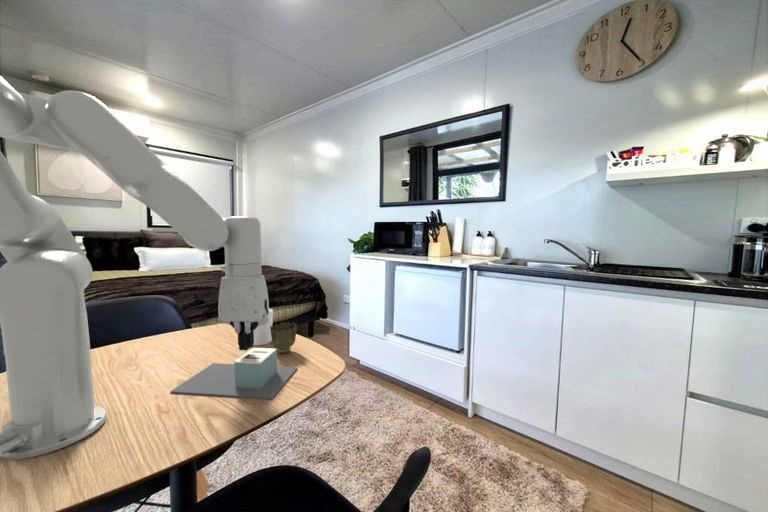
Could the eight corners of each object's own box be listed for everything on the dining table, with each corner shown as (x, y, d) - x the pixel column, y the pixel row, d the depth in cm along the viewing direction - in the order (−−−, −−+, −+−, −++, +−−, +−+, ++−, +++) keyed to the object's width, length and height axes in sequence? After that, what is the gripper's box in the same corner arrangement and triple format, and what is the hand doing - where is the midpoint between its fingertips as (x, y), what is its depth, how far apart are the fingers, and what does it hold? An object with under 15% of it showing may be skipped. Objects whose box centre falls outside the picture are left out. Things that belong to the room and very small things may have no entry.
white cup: (278, 340, 96) (278, 310, 95) (257, 348, 90) (256, 316, 89) (263, 335, 100) (262, 306, 100) (241, 343, 94) (240, 312, 93)
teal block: (234, 361, 66) (235, 387, 66) (260, 362, 65) (260, 388, 66) (253, 347, 74) (254, 370, 74) (276, 348, 73) (277, 372, 74)
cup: (270, 349, 89) (270, 323, 89) (296, 345, 92) (295, 320, 91) (270, 359, 82) (269, 330, 82) (298, 355, 85) (297, 328, 84)
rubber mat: (271, 399, 62) (271, 397, 62) (170, 393, 65) (170, 391, 65) (297, 369, 76) (297, 367, 76) (213, 364, 79) (213, 363, 78)
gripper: (201, 272, 65) (205, 353, 67) (267, 273, 64) (269, 356, 65) (223, 268, 73) (226, 341, 74) (282, 269, 71) (283, 343, 73)
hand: (246, 348), depth 70 cm, fingers closed
